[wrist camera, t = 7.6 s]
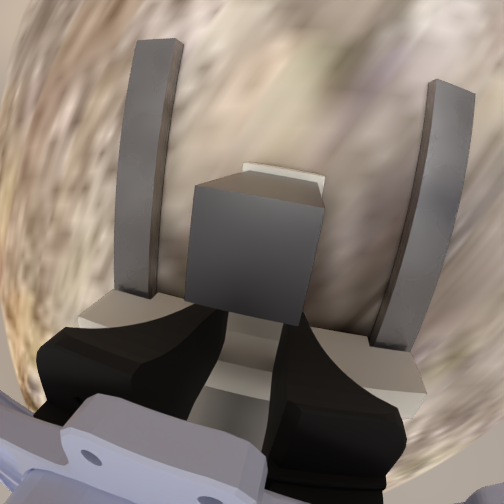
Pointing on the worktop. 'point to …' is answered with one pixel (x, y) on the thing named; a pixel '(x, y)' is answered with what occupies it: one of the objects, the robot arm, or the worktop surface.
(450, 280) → the worktop surface
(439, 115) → the rails
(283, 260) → the pusher bar
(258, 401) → the salt shaker
